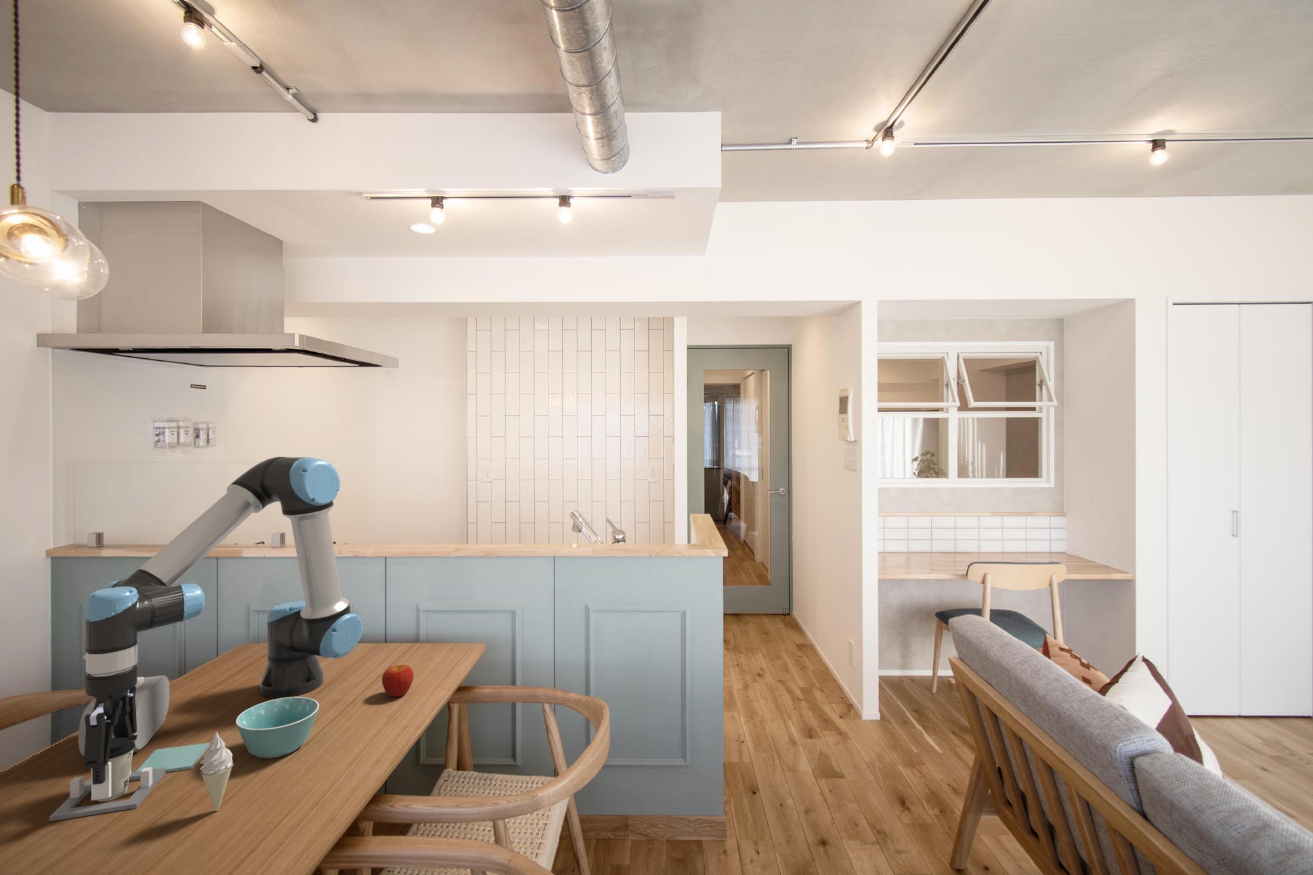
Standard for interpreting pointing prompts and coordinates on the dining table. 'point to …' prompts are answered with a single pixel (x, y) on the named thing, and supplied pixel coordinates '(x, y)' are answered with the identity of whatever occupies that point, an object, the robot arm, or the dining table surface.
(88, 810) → the collar
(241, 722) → the bowl
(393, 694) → the apple
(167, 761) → the coaster
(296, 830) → the dining table surface
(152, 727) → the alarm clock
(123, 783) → the coffee cup
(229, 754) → the ice cream cone
